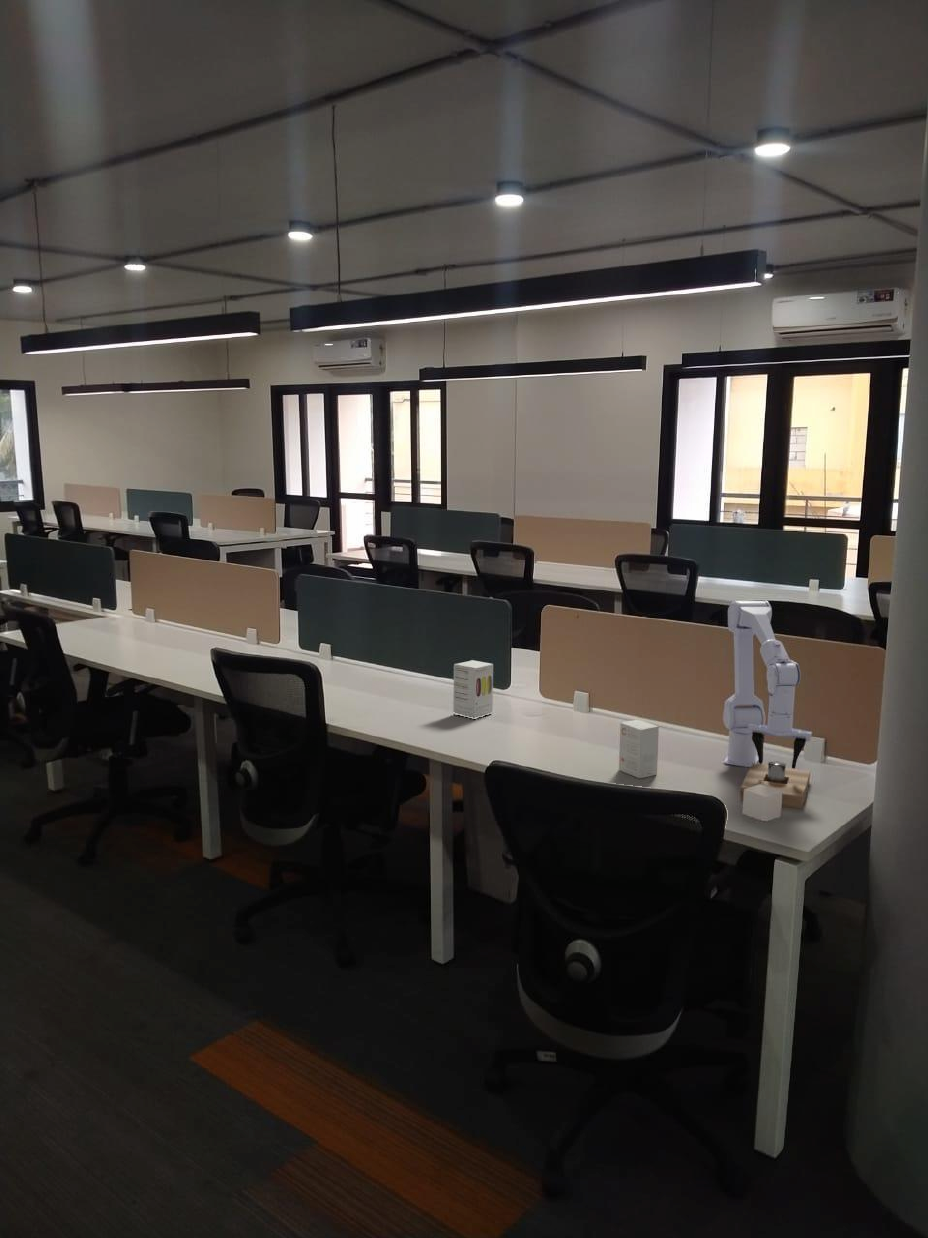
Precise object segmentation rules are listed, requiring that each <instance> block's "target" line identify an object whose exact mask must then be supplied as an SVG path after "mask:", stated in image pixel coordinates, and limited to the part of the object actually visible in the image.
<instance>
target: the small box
mask: <svg viewBox="0 0 928 1238" xmlns="http://www.w3.org/2000/svg"><path fill="white" fill-rule="evenodd" d="M619 728H620V730H619V731H620V732H619V751H618V752H619V753H618V755H619V756H618V757H619V758H618V759H619V760H618V771H621V772H623V773H625V774H628V775H631V776H632V777H635V778H636V779H637V778H638V779H644V778H647V777H652V776H656V775H658V759H659V758H658V757H659V755H658V754H659V731H660V730H659V729H660V727H659V726H658V725H655V724H652V723H649V722H646V721H643V720H641V719H634V720H627V721H622V722H620V727H619Z"/></svg>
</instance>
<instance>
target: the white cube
mask: <svg viewBox="0 0 928 1238" xmlns="http://www.w3.org/2000/svg"><path fill="white" fill-rule="evenodd" d="M782 807H783V806H782V791H779V790H776V789H773V788H770V787H767V786H764V785H761V784H759V785H756V786H753V787H750V788H747V789H744V797H743V800H742V813H743V814H742V815H744V814H746V815H745V816H747V815H748V817H750V816H751V817H750V818H752V817H754V818H753V819H755V818H757V819H756V820H758V819H760V820H762V821H761V822H763V821H766V822H769V821H772V820H775V819H778V818H781V815H782ZM774 818H775V819H774ZM771 819H772V820H771ZM760 820H759V821H760ZM768 820H769V821H768Z"/></svg>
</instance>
